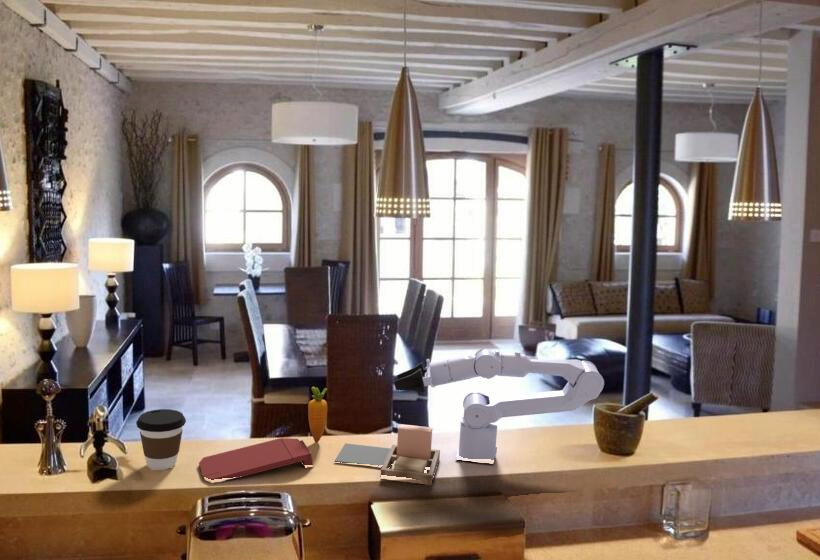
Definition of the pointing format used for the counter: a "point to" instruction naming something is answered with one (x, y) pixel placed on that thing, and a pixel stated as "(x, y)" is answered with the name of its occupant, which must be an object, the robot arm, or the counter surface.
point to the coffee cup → (161, 437)
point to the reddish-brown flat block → (255, 458)
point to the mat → (362, 454)
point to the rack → (424, 477)
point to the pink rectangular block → (414, 441)
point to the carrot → (317, 414)
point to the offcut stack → (410, 464)
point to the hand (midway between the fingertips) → (396, 382)
